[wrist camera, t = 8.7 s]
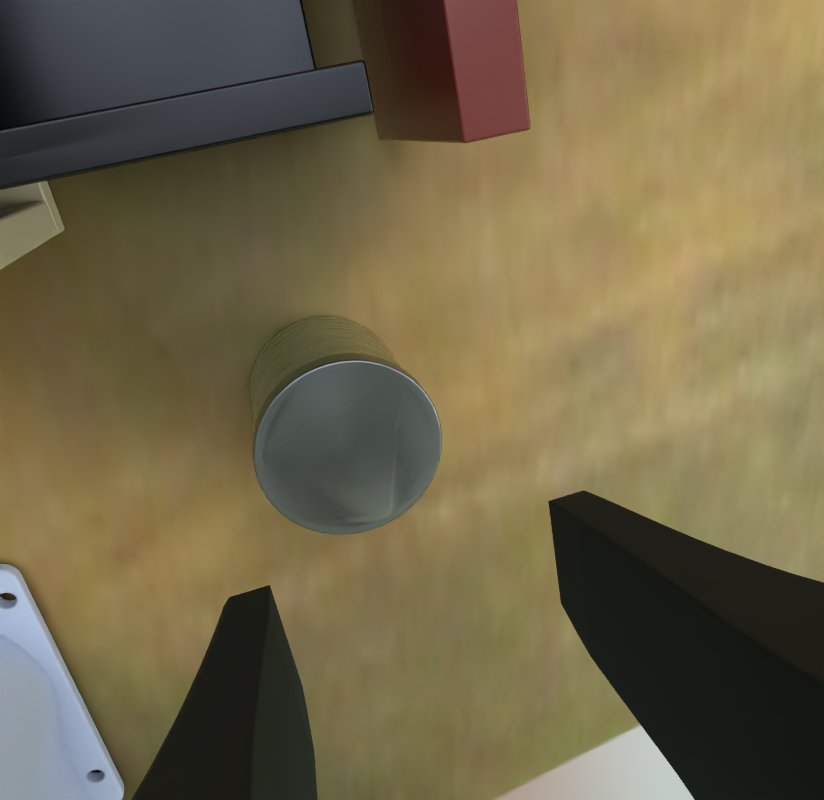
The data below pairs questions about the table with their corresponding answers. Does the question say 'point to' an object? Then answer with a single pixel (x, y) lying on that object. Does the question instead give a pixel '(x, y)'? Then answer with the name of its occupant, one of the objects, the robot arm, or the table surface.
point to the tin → (340, 428)
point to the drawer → (241, 77)
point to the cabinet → (26, 220)
